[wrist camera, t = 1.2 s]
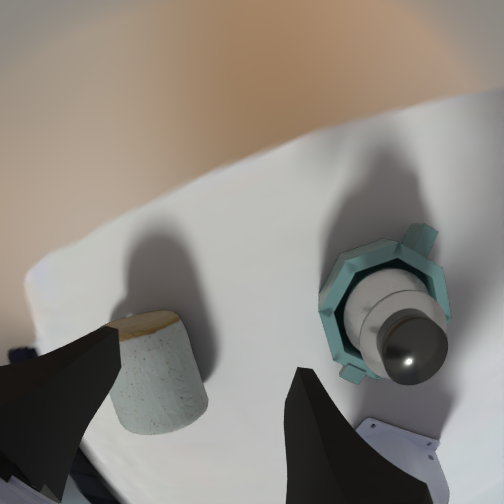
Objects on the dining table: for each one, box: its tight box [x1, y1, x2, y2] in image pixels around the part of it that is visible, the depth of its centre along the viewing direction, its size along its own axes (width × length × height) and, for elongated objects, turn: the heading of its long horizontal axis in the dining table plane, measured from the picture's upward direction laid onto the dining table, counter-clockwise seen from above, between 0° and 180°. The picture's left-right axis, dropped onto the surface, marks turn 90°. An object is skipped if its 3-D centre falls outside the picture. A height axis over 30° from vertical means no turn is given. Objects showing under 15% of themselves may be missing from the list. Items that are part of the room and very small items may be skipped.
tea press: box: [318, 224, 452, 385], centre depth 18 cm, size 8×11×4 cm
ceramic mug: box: [100, 310, 208, 435], centre depth 21 cm, size 11×8×8 cm
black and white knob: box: [343, 267, 448, 385], centre depth 13 cm, size 6×6×6 cm
